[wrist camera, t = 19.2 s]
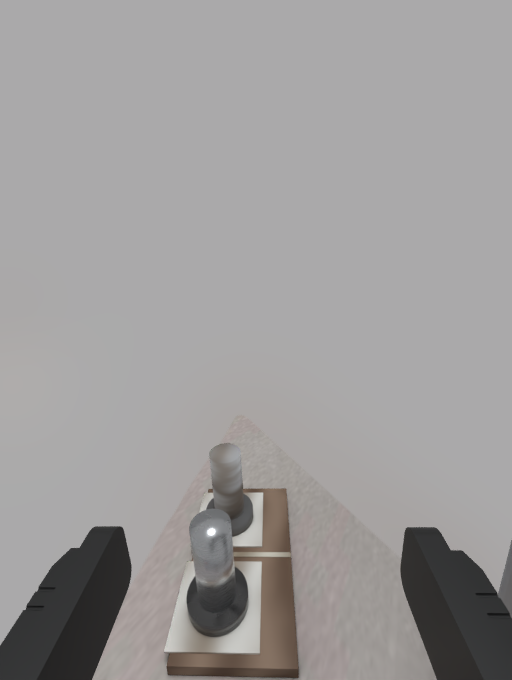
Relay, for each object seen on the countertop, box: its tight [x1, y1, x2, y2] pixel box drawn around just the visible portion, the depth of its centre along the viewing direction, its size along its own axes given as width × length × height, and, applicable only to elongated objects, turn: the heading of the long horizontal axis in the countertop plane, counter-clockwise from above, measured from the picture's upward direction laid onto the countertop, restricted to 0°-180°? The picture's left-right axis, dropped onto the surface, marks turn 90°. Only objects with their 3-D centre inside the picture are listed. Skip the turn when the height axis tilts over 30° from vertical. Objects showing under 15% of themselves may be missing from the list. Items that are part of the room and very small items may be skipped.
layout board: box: [164, 443, 298, 678], centre depth 39 cm, size 12×22×12 cm, turn 178°
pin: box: [187, 509, 249, 637], centre depth 33 cm, size 6×6×10 cm
